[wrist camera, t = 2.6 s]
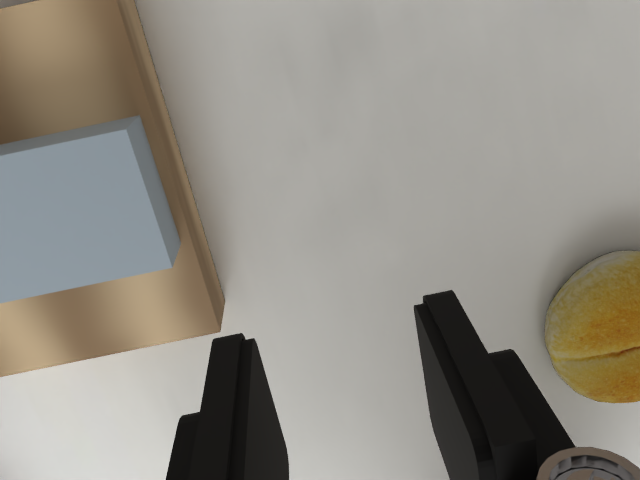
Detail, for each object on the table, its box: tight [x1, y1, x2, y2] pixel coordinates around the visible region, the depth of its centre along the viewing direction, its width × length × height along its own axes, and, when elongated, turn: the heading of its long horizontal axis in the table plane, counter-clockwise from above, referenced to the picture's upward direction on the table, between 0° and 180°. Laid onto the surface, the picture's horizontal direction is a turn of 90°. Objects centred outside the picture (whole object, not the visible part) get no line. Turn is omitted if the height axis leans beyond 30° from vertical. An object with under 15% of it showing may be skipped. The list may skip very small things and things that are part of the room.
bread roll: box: [545, 251, 640, 403], centre depth 33 cm, size 8×9×4 cm
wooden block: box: [0, 0, 225, 377], centre depth 28 cm, size 12×16×3 cm
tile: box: [0, 115, 181, 303], centre depth 25 cm, size 9×6×2 cm, turn 101°
